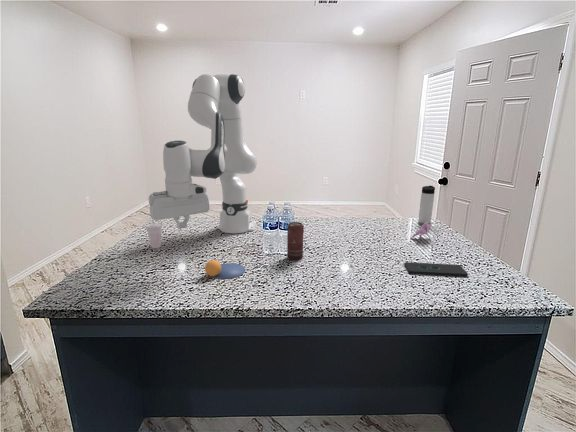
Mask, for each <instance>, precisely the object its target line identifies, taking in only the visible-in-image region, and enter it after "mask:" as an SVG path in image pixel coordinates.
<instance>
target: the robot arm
mask: <svg viewBox="0 0 576 432" xmlns="http://www.w3.org/2000/svg"><path fill="white" fill-rule="evenodd" d="M191 87H192V88H191V92H190V95H189V98H188V103H187V112H188V114H189V116H190V118H191V119H192V120H193V121H194V122H196V123H197V124H198V125H200V126H202V127H205V128H207V129H209V130H211V133H210V136H211V137H210V148H208V149H192V148H190V147H189V144H188V142H187V141H184V140H171V141H168V142H166V143H165V144H164V145H163V152H162V159H163V160H162V161H163V162H162V163H163V171H164V173H165V178H164V186H165V187H164V188H165V190H163V191H154V192H152V193H150V195H149V196H148V204H149V216H150V218H151V220H152V219H154V221H161V220H166V219H173V220H174V221H175V223H176V226H177V227H176V228H177V229H178V230H181V229H182V230H183V229H186V228H188V223H189V220H190V216H193V215H197V214H205V213H208V212H209V211H210V210H211V209H210V207H211V206H210V200H209V197H208V194H207V187H205V186H203V185H200V184H197V183H193V178H192V177H194V178H196V177H197V178H206V179H214V180H216V179H219V181H220V185H221V190H222V191H221V192H222V193H221V194H222V202H221V206H222V207H221V208H222V211H220V213H219V225H217V226H216V228H217V230H220V231H221V232H223V233H226V234H242V233H246V232H253V231H254V230H255V228H256V223H257V221H256V220H255V219H252V212H251V211H250V209H249V207H248V204H249V199H247V197H246V195H247V191H246V189H247V187H246V184H245V183H244V182H243V181H242V180H241V177H240V175H249V174H251V173H253V172H254V171H256V168H257V164H258V162H257V157H256V156H255V154H254V153H253V152H252V151H251V150H250V148H249V146H248V145H247V142H246V139H245V136H244V130H243V129H244V128H243V118H242V116H243V115H242V111H241V105H240V102H241V101H242V100H243V98H244V97H245V93H246V91H245V90H246V89H245V87H246V86H245V83H244V80H243V78H242V77H241V76H240V75H238V74H233V73H231V74H219V73H218V74H213V75H212V74H208V73H206V74H201V75H199V76H197V78H196V79H194V81H193V83H192V86H191ZM225 147H226V148H225ZM180 217H183V218H184V219H183V221H182V222H180Z"/></svg>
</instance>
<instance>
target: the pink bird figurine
mask: <svg viewBox="0 0 576 432" xmlns="http://www.w3.org/2000/svg"><path fill="white" fill-rule="evenodd" d="M434 223H435V221H431V224H429V225H428V222H425V223H424V224H423V225H422V224H421V227H420V229H418V230H417V231H416V232H415V233H414V234H413V235H412V236H411V238H410V239H413V238H414V237H416V236H418V235H419V237H420V238H421V237H423V235H427V237H428V239H429V241H430V243H432V240H431V238H430V236H429V234H428V232H429V229H430V228H433V226H432V225H433V224H434Z"/></svg>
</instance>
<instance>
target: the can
mask: <svg viewBox="0 0 576 432" xmlns="http://www.w3.org/2000/svg"><path fill="white" fill-rule="evenodd" d="M304 227H305V226H304V224H303V223H302V222H298V221H297V222H296V221H294V222H293V221H292V222H289V223H288V224H287V233H286V234H287V239H286V240H287V241H286V242H287V244H286V246H287V249H286V251H287V254H286V255H287V256H286V257H287V259H288V260H290V261H300V260H302V259H303V257H304V232H305V229H304Z"/></svg>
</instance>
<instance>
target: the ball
mask: <svg viewBox="0 0 576 432" xmlns="http://www.w3.org/2000/svg"><path fill="white" fill-rule="evenodd" d="M220 264H221V263H220V261H218V260H216V259H215V260H214V259H211V260H208V262H206V264H205V265H204V271H205V273H206V274H207V275H208V276H210V277H211V276H216V275H218V274H219V273H220V271H221V265H220Z"/></svg>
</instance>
